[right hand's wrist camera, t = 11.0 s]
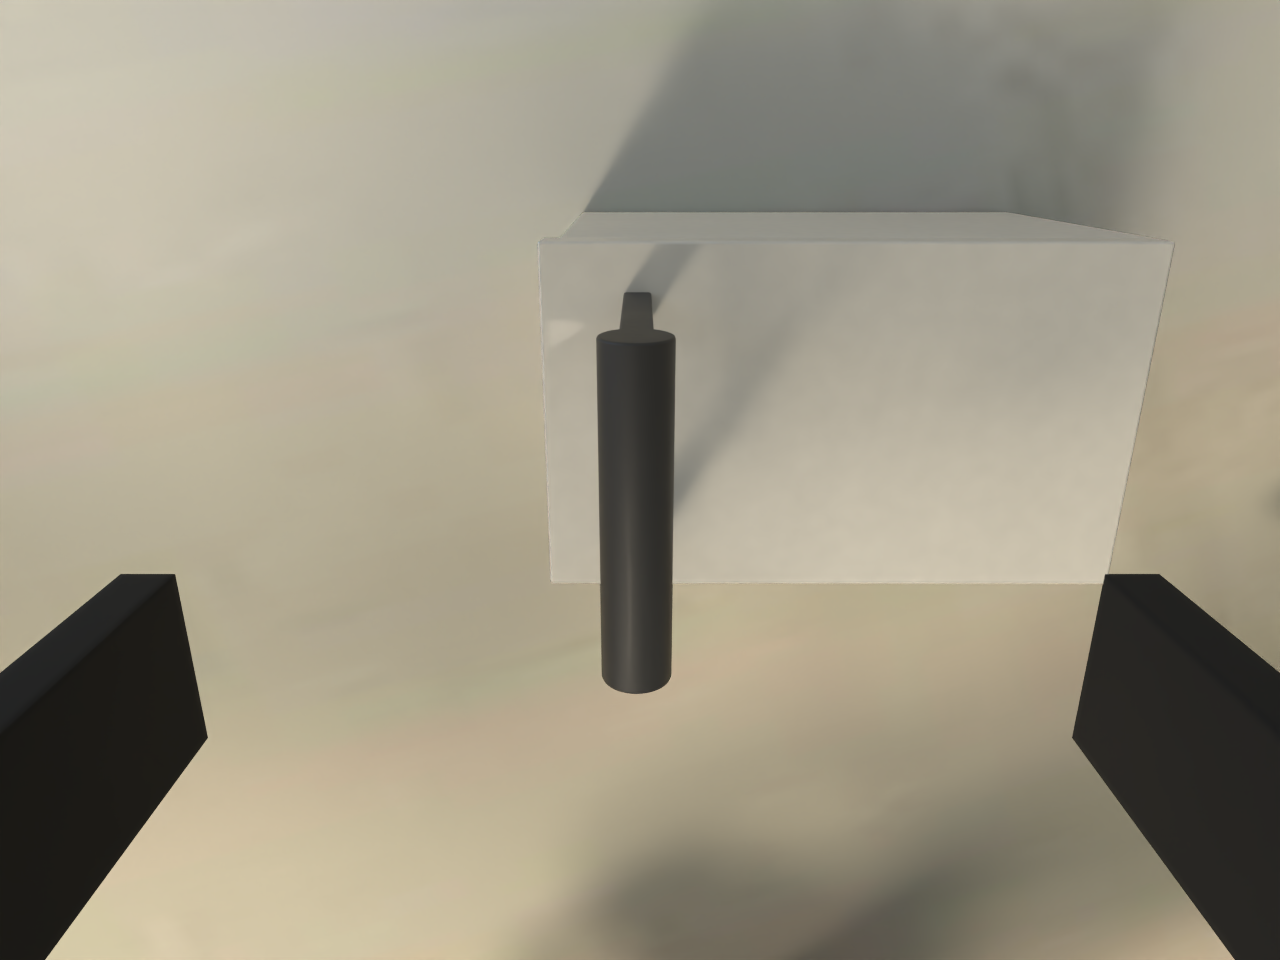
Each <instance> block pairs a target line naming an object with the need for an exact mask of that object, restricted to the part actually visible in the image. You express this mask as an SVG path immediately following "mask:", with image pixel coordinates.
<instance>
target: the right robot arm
mask: <svg viewBox="0 0 1280 960" xmlns="http://www.w3.org/2000/svg"><path fill="white" fill-rule="evenodd" d="M207 738H208V736H207V731H206V726H205V721H204V716H203V711H202V706H201V701H200V696H199V691H198V686H197V681H196V676H195V671H194V666H193V661H192V656H191V651H190V646H189V641H188V636H187V631H186V626H185V621H184V616H183V611H182V606H181V601H180V596H179V591H178V586H177V581H176V576H175V574H120V575H119V576H118V577H117V578H116V579H114V580H113V581H112V582H111V583H109V584H108V585H107V586H106V587H105V588H103V589H102V590H101V591H100V592H98V593H97V594H96V595H95V596H94V597H92V598H91V599H90V600H89V601H87V602H86V603H85V604H84V605H83V606H81V607H80V608H79V609H78V610H77V611H75V612H74V613H73V614H72V615H70V616H69V617H68V618H67V619H66V620H64V621H63V622H62V623H61V624H59V625H58V626H57V627H56V628H55V629H53V630H52V631H51V632H50V633H48V634H47V635H46V636H45V637H44V638H42V639H41V640H40V641H39V642H37V643H36V644H35V645H34V646H33V647H31V648H30V649H29V650H28V651H27V652H25V653H24V654H23V655H22V656H20V657H19V658H18V659H17V660H16V661H14V662H13V663H12V664H11V665H9V666H8V667H7V668H6V669H5V670H3V671H2V672H1V673H0V960H45V959H46V958H47V956H48V955H49V954H50V952H51V951H52V950H53V948H54V947H55V946H56V944H57V943H58V941H59V940H60V939H61V937H62V936H63V935H64V933H65V932H66V931H67V929H68V928H69V926H70V925H71V924H72V922H73V921H74V920H75V918H76V917H77V916H78V914H79V913H80V911H81V910H82V909H83V907H84V906H85V905H86V903H87V902H88V901H89V899H90V898H91V896H92V895H93V894H94V892H95V891H96V890H97V888H98V887H99V886H100V884H101V883H102V881H103V880H104V879H105V877H106V876H107V875H108V873H109V872H110V871H111V869H112V868H113V866H114V865H115V864H116V862H117V861H118V860H119V858H120V857H121V856H122V854H123V853H124V851H125V850H126V849H127V847H128V846H129V845H130V843H131V842H132V841H133V839H134V838H135V836H136V835H137V834H138V832H139V831H140V830H141V828H142V827H143V826H144V824H145V823H146V821H147V820H148V819H149V817H150V816H151V815H152V813H153V812H154V811H155V809H156V808H157V806H158V805H159V804H160V802H161V801H162V800H163V798H164V797H165V796H166V794H167V793H168V791H169V790H170V789H171V787H172V786H173V785H174V783H175V782H176V780H177V779H178V778H179V776H180V775H181V774H182V772H183V771H184V770H185V768H186V767H187V765H188V764H189V763H190V761H191V760H192V759H193V757H194V756H195V755H196V753H197V752H198V750H199V749H200V748H201V746H202V745H203V744H204V742H205V741H206V740H207ZM1072 738H1073V740H1074V741H1075V742H1076V744H1077V745H1078V746H1079V748H1080V749H1081V750H1082V752H1083V753H1084V755H1085V756H1086V757H1087V759H1088V760H1089V761H1090V763H1091V764H1092V765H1093V767H1094V768H1095V770H1096V771H1097V772H1098V774H1099V775H1100V776H1101V778H1102V779H1103V781H1104V782H1105V783H1106V785H1107V786H1108V787H1109V789H1110V790H1111V791H1112V793H1113V794H1114V796H1115V797H1116V798H1117V800H1118V801H1119V802H1120V804H1121V805H1122V806H1123V808H1124V809H1125V811H1126V812H1127V813H1128V815H1129V816H1130V817H1131V819H1132V820H1133V821H1134V823H1135V824H1136V826H1137V827H1138V828H1139V830H1140V831H1141V832H1142V834H1143V835H1144V836H1145V838H1146V839H1147V841H1148V842H1149V843H1150V845H1151V846H1152V847H1153V849H1154V850H1155V851H1156V853H1157V854H1158V856H1159V857H1160V858H1161V860H1162V861H1163V862H1164V864H1165V865H1166V866H1167V868H1168V869H1169V871H1170V872H1171V873H1172V875H1173V876H1174V877H1175V879H1176V880H1177V881H1178V883H1179V884H1180V886H1181V887H1182V888H1183V890H1184V891H1185V892H1186V894H1187V895H1188V896H1189V898H1190V899H1191V901H1192V902H1193V903H1194V905H1195V906H1196V907H1197V909H1198V910H1199V911H1200V913H1201V914H1202V916H1203V917H1204V918H1205V920H1206V921H1207V922H1208V924H1209V925H1210V926H1211V928H1212V929H1213V931H1214V932H1215V933H1216V935H1217V936H1218V937H1219V939H1220V940H1221V941H1222V943H1223V944H1224V946H1225V947H1226V948H1227V950H1228V951H1229V952H1230V954H1231V955H1232V956H1233V958H1234V959H1235V960H1280V673H1279V672H1278V671H1277V670H1275V669H1274V668H1273V667H1272V666H1271V665H1269V664H1268V663H1267V662H1266V661H1264V660H1263V659H1262V658H1261V657H1260V656H1258V655H1257V654H1256V653H1255V652H1253V651H1252V650H1251V649H1250V648H1249V647H1247V646H1246V645H1245V644H1244V643H1243V642H1241V641H1240V640H1239V639H1238V638H1236V637H1235V636H1234V635H1233V634H1232V633H1230V632H1229V631H1228V630H1227V629H1225V628H1224V627H1223V626H1222V625H1221V624H1219V623H1218V622H1217V621H1216V620H1214V619H1213V618H1212V617H1211V616H1210V615H1208V614H1207V613H1206V612H1205V611H1203V610H1202V609H1201V608H1200V607H1199V606H1197V605H1196V604H1195V603H1194V602H1193V601H1191V600H1190V599H1189V598H1188V597H1186V596H1185V595H1184V594H1183V593H1182V592H1180V591H1179V590H1178V589H1177V588H1175V587H1174V586H1173V585H1172V584H1171V583H1169V582H1168V581H1167V580H1166V579H1164V578H1163V577H1162V576H1161V575H1160V574H1105V576H1104V581H1103V586H1102V591H1101V596H1100V601H1099V606H1098V611H1097V616H1096V621H1095V626H1094V631H1093V636H1092V641H1091V646H1090V651H1089V656H1088V661H1087V666H1086V671H1085V676H1084V681H1083V686H1082V691H1081V696H1080V701H1079V706H1078V711H1077V716H1076V721H1075V726H1074V731H1073V736H1072Z"/></svg>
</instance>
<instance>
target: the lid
mask: <svg viewBox="0 0 1280 960" xmlns="http://www.w3.org/2000/svg"><path fill="white" fill-rule="evenodd" d="M1174 246H1175V243H1174V242H1173V241H1169V240H1163V239H1157V238H1151V237H544V238H542V239H541V240H540V241H539V242H538V244H537V248H538V274H539V300H540V326H541V352H542V377H543V403H544V429H545V455H546V481H547V507H548V532H549V558H550V581H551V583H553V584H600V593H601V652H602V677H603V679H604V681H605V682H606V684H607V685H608V686H610V687H611V688H613V689H615V690H618V691H621V692H625V693H631V694H642V693H648V692H652V691H655V690H658V689H660V688H662V687H663V686H664V685H666V684H667V682H668V681H669V679H670V677H671V655H672V584H1103V581H1104V576H1105V574H1108V573H1109V568H1110V563H1111V559H1112V554H1113V549H1114V544H1115V539H1116V534H1117V529H1118V524H1119V519H1120V514H1121V509H1122V504H1123V499H1124V494H1125V489H1126V484H1127V479H1128V474H1129V469H1130V464H1131V459H1132V454H1133V449H1134V444H1135V439H1136V434H1137V429H1138V425H1139V420H1140V415H1141V410H1142V405H1143V400H1144V395H1145V390H1146V385H1147V380H1148V375H1149V370H1150V365H1151V360H1152V355H1153V350H1154V345H1155V340H1156V335H1157V330H1158V325H1159V320H1160V315H1161V310H1162V305H1163V300H1164V296H1165V291H1166V286H1167V281H1168V276H1169V271H1170V266H1171V261H1172V256H1173V251H1174Z"/></svg>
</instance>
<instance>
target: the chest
mask: <svg viewBox="0 0 1280 960" xmlns="http://www.w3.org/2000/svg"><path fill="white" fill-rule="evenodd" d="M561 237H1147V236H1141V235H1135V234H1130V233H1124V232H1118V231H1112V230H1107V229H1101V228H1095V227H1090V226H1084V225H1078V224H1072V223H1067V222H1061V221H1055V220H1049V219H1044V218H1038V217H1032V216H1026V215H1021V214H1014V213H1009V212H583V213H582V214H581V215H580V216H579V217H578V218H577V219H576V220H575V221H574V223H573V224H572V225H571V226H570V227H569V228H568V229H567V230H566V231H565V232H564V233H563V235H562V236H561Z"/></svg>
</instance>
